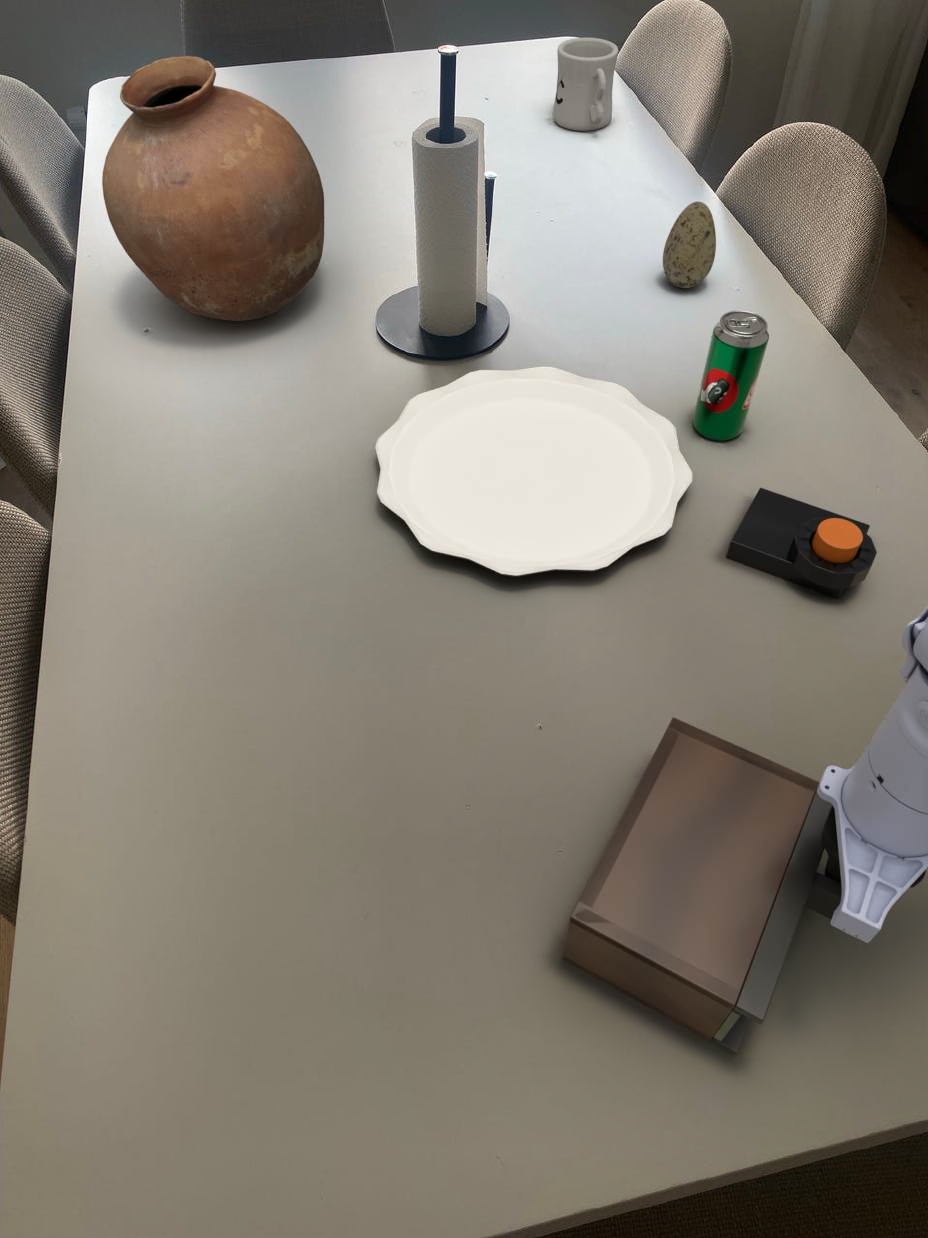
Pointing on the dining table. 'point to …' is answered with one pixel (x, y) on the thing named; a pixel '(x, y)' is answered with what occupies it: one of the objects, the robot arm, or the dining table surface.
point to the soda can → (730, 374)
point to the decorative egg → (690, 246)
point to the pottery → (212, 193)
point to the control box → (796, 545)
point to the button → (837, 540)
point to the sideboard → (702, 885)
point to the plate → (532, 471)
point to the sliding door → (824, 895)
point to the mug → (585, 83)
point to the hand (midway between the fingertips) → (842, 878)
